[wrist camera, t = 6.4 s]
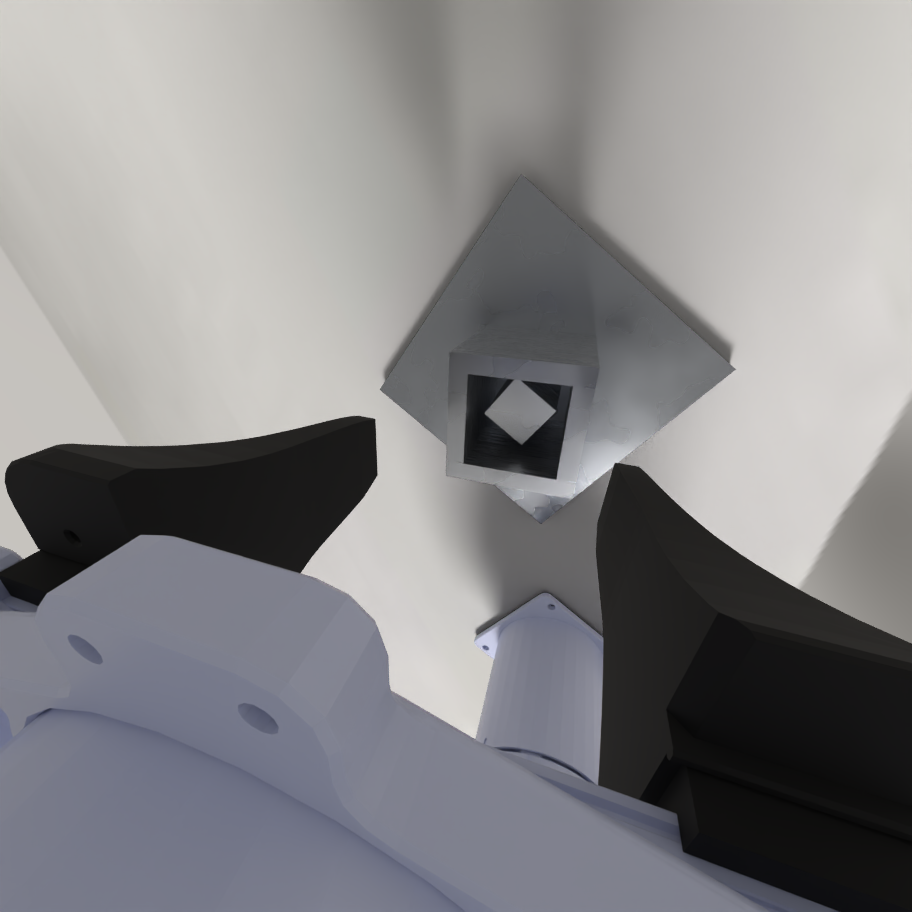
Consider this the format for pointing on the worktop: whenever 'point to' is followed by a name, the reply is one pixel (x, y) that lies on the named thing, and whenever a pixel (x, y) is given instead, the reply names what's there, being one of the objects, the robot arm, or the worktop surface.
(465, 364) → the sleeve
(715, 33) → the worktop surface
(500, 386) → the duct flange
